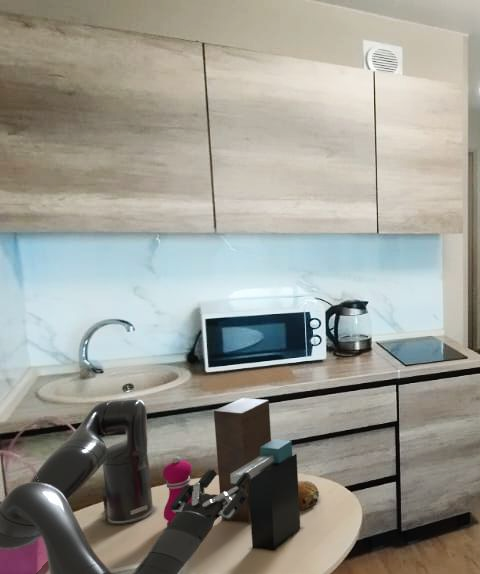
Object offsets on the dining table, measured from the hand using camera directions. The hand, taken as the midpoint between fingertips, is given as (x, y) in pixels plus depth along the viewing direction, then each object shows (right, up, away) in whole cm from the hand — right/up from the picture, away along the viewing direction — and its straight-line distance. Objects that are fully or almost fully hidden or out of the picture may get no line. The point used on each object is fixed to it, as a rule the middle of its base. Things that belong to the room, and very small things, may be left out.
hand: (230, 472), depth 134 cm
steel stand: (0, -23, +17) cm, 29 cm away
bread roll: (-4, -20, +34) cm, 40 cm away
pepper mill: (-28, -21, +21) cm, 41 cm away
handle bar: (+1, -2, +10) cm, 10 cm away
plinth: (-15, -20, +29) cm, 38 cm away
